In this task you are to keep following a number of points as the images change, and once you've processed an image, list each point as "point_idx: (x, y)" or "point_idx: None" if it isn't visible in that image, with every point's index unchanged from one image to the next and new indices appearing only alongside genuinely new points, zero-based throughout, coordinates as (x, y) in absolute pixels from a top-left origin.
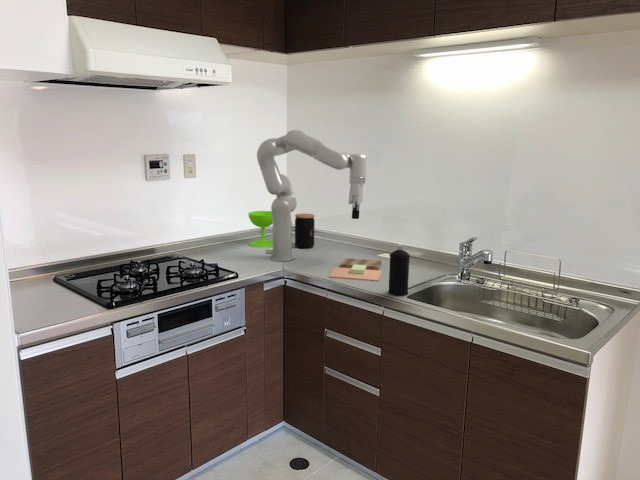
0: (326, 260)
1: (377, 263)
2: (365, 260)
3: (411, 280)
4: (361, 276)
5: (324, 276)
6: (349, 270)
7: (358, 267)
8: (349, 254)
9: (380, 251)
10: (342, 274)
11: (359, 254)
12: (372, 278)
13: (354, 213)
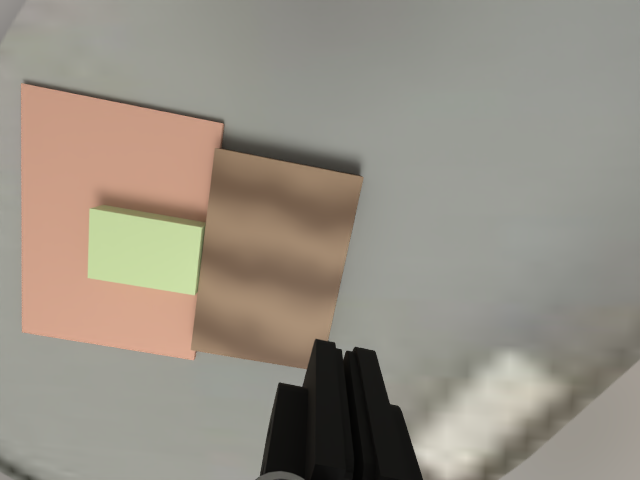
0: (394, 56)
1: (260, 349)
2: (317, 291)
3: (77, 458)
4: (62, 259)
5: (38, 56)
6: (163, 199)
7: (137, 251)
8: (539, 201)
9: (596, 369)
10: (75, 161)
11: (536, 258)
12: (41, 308)
13: (265, 454)
